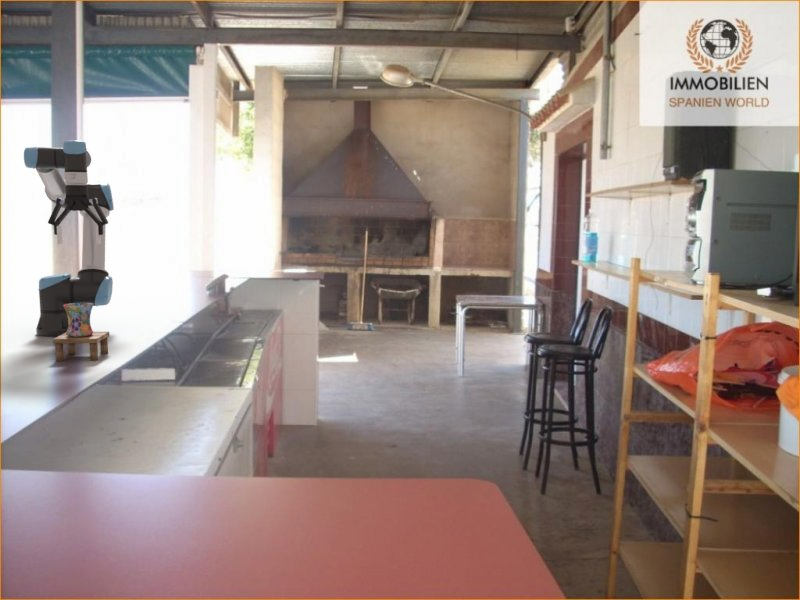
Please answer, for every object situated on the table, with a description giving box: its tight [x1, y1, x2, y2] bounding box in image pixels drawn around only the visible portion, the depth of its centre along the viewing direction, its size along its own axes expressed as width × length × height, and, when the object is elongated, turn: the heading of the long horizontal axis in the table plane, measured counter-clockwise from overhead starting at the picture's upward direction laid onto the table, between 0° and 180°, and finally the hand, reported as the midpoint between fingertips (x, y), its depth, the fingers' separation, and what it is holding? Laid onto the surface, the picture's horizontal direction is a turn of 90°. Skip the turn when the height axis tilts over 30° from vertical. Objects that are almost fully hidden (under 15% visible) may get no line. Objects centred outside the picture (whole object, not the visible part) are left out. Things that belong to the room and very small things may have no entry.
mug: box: [63, 303, 94, 337], centre depth 256 cm, size 12×9×11 cm
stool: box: [52, 331, 110, 362], centre depth 257 cm, size 14×14×7 cm
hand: (79, 244), depth 275 cm, fingers open, 13 cm apart
